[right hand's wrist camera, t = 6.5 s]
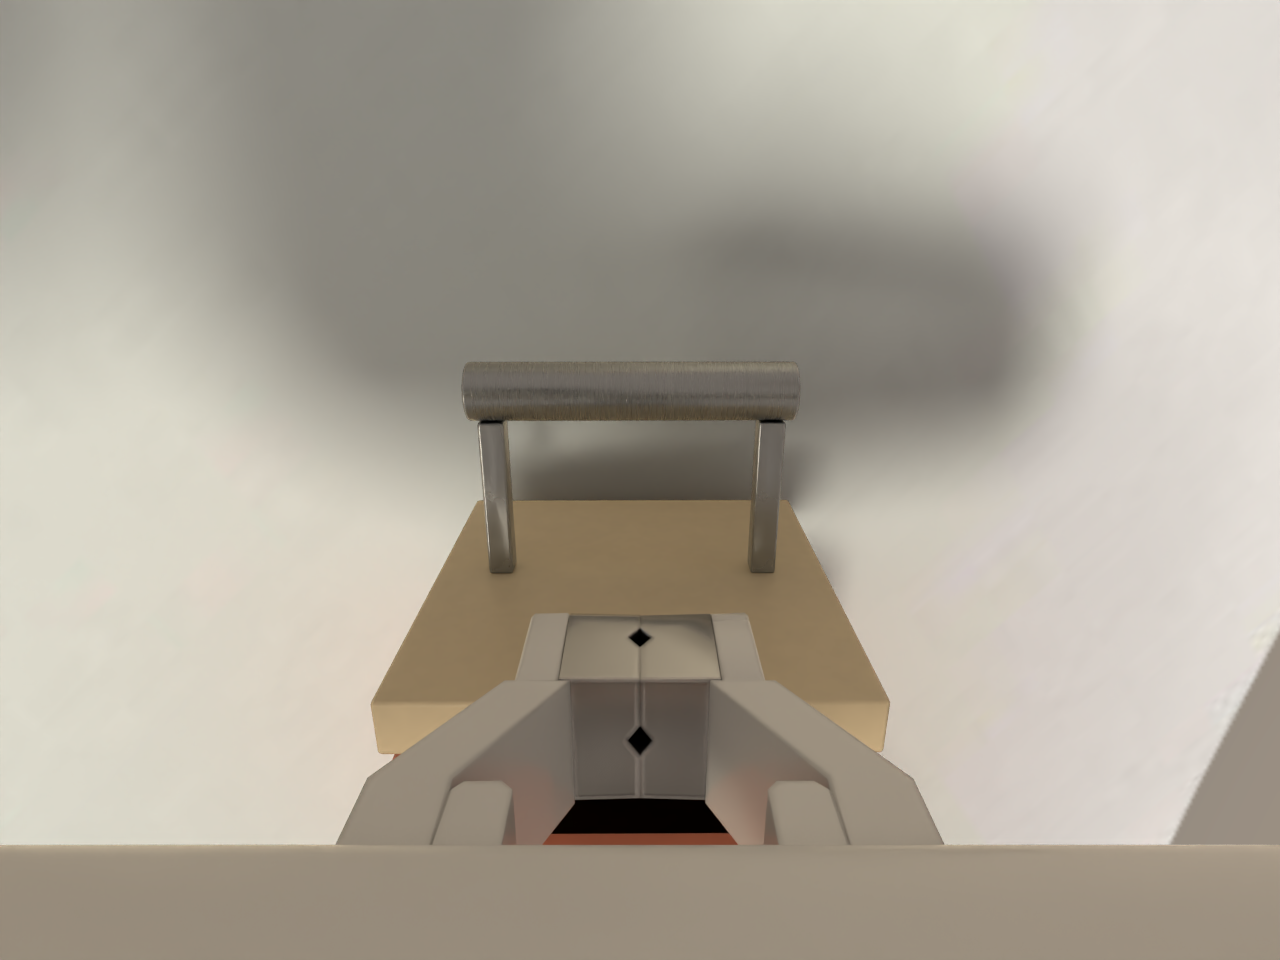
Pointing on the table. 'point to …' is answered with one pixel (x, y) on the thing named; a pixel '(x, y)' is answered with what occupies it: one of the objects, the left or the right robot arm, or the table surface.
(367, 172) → the table surface
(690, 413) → the drawer
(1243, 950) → the right robot arm
